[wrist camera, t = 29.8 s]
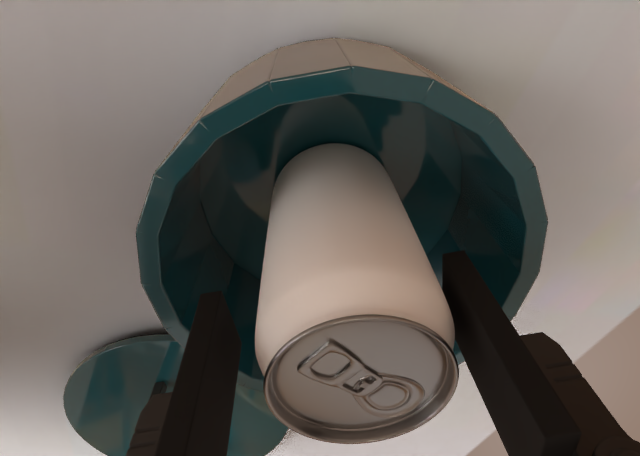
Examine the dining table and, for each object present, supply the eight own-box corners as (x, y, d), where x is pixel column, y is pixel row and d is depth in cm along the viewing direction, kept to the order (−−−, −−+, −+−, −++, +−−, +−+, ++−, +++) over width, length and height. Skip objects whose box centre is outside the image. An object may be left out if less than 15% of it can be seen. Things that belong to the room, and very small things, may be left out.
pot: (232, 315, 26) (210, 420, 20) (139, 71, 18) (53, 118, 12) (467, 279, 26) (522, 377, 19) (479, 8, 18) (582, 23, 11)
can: (336, 264, 24) (364, 472, 14) (248, 204, 22) (202, 403, 11) (416, 189, 22) (521, 375, 11) (326, 113, 19) (356, 261, 9)
